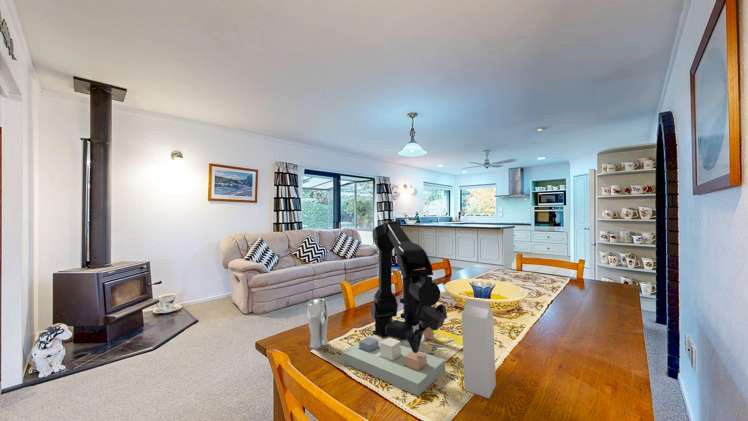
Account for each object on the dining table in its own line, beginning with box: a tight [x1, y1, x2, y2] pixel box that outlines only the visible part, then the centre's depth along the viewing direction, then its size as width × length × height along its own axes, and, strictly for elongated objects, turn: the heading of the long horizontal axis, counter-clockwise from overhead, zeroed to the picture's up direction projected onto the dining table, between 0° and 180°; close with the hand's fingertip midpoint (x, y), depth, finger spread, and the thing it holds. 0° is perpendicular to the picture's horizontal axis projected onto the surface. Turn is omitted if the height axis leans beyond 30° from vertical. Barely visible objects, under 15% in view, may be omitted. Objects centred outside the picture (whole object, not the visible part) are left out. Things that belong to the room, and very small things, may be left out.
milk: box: [461, 298, 497, 399], centre depth 72 cm, size 6×6×22 cm
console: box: [340, 335, 446, 397], centre depth 84 cm, size 14×27×3 cm, turn 50°
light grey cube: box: [380, 337, 402, 362], centre depth 84 cm, size 4×4×4 cm
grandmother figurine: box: [422, 327, 437, 343], centre depth 100 cm, size 8×4×13 cm, turn 65°
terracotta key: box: [405, 351, 427, 372], centre depth 79 cm, size 4×4×4 cm
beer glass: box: [306, 297, 329, 350], centre depth 99 cm, size 7×7×15 cm
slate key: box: [358, 336, 379, 353], centre depth 90 cm, size 4×4×4 cm
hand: (415, 352), depth 79 cm, fingers closed
